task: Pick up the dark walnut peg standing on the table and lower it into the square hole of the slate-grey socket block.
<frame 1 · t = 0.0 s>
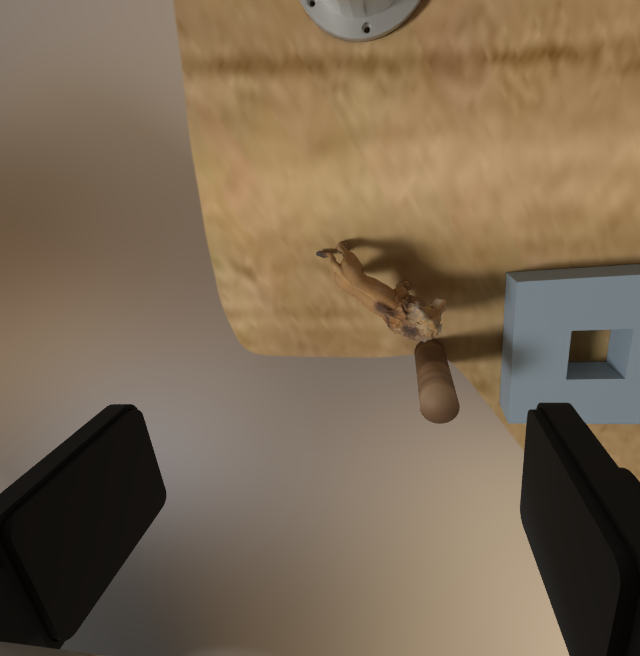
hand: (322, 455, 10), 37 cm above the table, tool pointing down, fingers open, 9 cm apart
socket block: (581, 339, 44), on the table
peg: (429, 352, 47), on the table
lion figurine: (381, 279, 45), on the table
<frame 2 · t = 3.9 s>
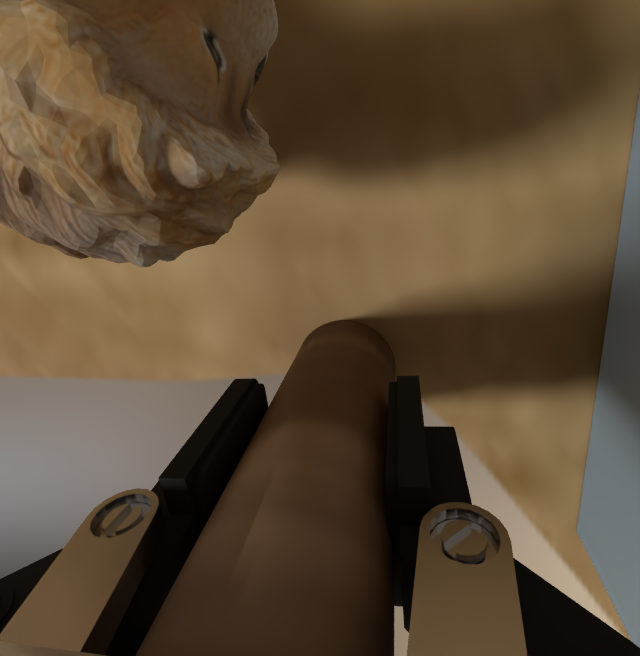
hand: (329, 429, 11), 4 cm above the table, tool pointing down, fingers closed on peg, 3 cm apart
peg: (345, 366, 14), on the table, touching gripper
lion figurine: (127, 75, 12), on the table
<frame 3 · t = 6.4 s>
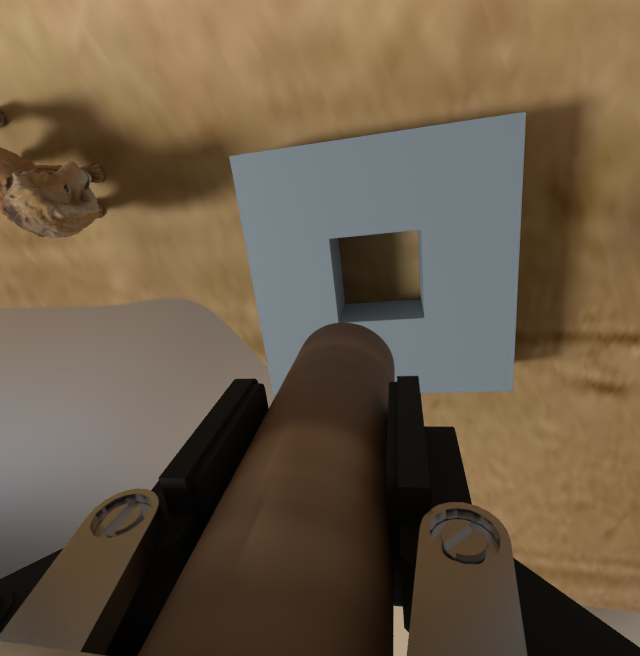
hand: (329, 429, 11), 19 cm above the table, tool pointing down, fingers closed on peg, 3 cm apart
socket block: (379, 264, 28), on the table
peg: (345, 367, 14), point 16 cm above the table, touching gripper
lion figurine: (67, 167, 30), on the table
when the fingers open (5 cm above the table, at t = 9.2 s): peg drops 1 cm, resting in socket block.
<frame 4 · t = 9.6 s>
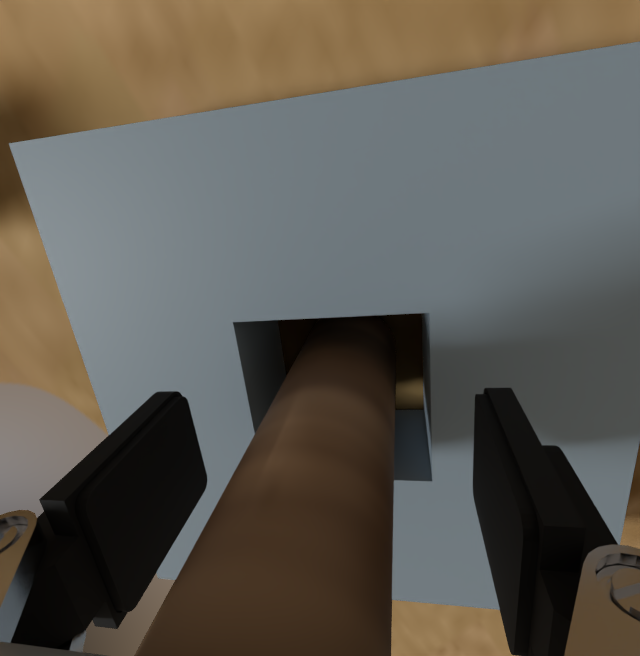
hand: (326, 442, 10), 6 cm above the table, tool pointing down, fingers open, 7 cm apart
socket block: (350, 349, 15), on the table
peg: (351, 349, 15), resting in socket block
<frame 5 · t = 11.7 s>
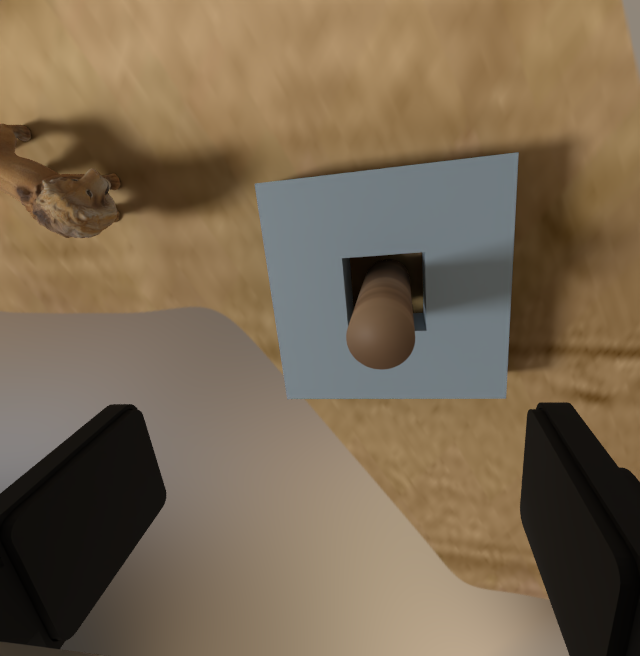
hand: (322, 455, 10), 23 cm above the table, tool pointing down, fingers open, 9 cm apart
socket block: (386, 280, 31), on the table
peg: (387, 281, 31), resting in socket block
lion figurine: (86, 176, 33), on the table
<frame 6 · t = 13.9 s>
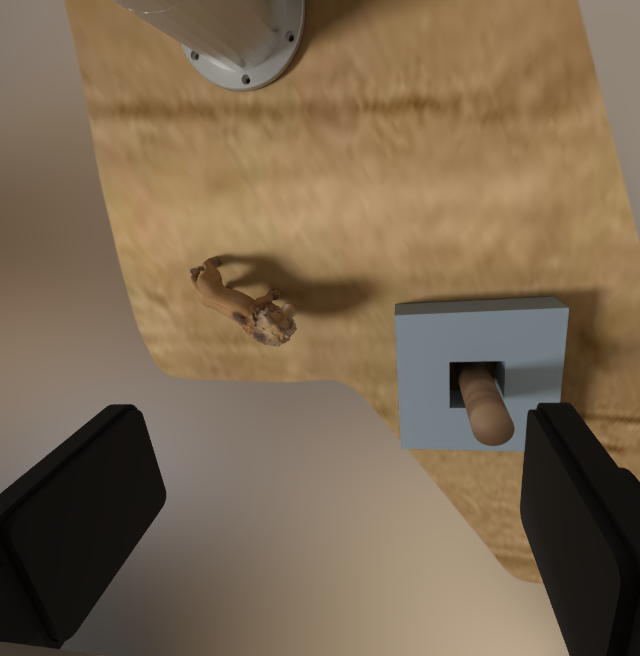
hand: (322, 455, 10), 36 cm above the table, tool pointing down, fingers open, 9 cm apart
socket block: (470, 368, 46), on the table
peg: (470, 368, 46), resting in socket block
lion figurine: (255, 290, 47), on the table
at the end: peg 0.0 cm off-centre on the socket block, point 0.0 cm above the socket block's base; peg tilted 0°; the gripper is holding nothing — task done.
